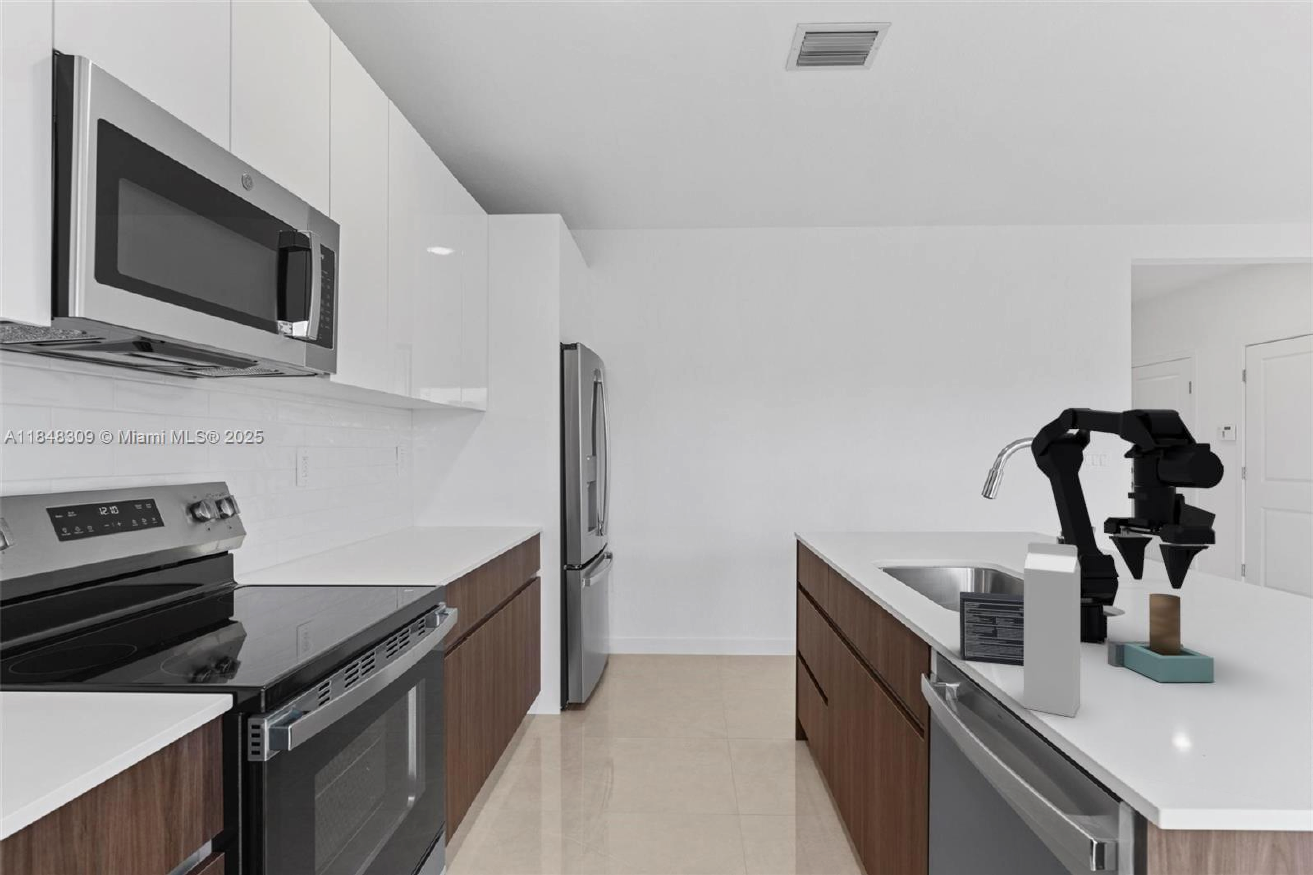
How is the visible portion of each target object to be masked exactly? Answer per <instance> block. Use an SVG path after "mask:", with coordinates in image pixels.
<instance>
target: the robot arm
mask: <svg viewBox="0 0 1313 875" xmlns="http://www.w3.org/2000/svg"><path fill="white" fill-rule="evenodd" d="M1070 430H1077V431H1076V433H1074V432H1070ZM1091 432H1098V433H1105V434H1114V435H1116V436H1118V437H1119V438H1120V439H1121V440H1123V441H1126V442H1128V443H1131V444H1133V445H1132V447H1131V448H1130V449H1129V450H1127V451H1126V452H1125V453H1124V454H1123V457H1124V458H1125V459H1132V460H1133V466H1132V467H1133V491H1132V492H1129V491H1128V492H1127V498H1128V499H1129V500H1130V499H1131V500H1133V507H1134V508H1133V510H1134V512H1133V513H1134V514H1133V515H1134V516H1129V517H1127V516H1126V517H1125V516H1123V517H1122V516H1119V517H1118V516H1115V517H1114V516H1109V517H1107V518H1106V519H1105V520H1104V522H1103V533H1104V534H1109V535H1108V539H1109V540H1111V541H1112V543H1113V544H1114V545H1115V548H1116V549H1117V551H1118V552H1119V554H1120V556H1121V558H1122V559H1123V561H1124V562H1125V565H1126V567H1127V568H1128V570H1129V572H1130V575H1131V576H1132V577H1133V579H1134V580H1135V581H1137V580H1138V581H1142V579H1143V576H1144V575H1143V574H1144V567H1145V553H1146V547H1147V546H1148V545H1149V544H1150V542H1151V541H1152V540H1153V536H1155V537H1159V538H1160V540H1161V542H1162V543H1159V544H1158V547H1159V551H1160V553H1161V557H1162V559H1163V560H1162V561H1163V564H1164V566H1165V570H1166V574H1167V578H1168V580H1169V583H1170V586H1171V588H1172V589H1173V590H1180V589H1182V587H1183V584H1184V581H1185V578H1186V577H1187V574H1188V571H1189V569H1190V566H1191V564H1192V562H1193V560H1194V558H1195V556H1196V555H1198V554H1199V553H1201V552H1202V551H1203V550H1208V548H1209V547H1210V545H1216V542H1217V541H1216V539H1217V538H1216V531H1215V529H1213V525H1214V523H1215V519H1216V516H1217V515H1216V513H1213V512H1210V511H1207V509H1206V510H1205V509H1203V508H1200V507H1197V506H1194V505H1190V504H1189V503H1186V497H1185V495H1184V493H1180V492H1178V493H1177V488H1183V489H1185V488H1186V489H1205V490H1207V489H1208V490H1209V489H1212V488H1214V487H1217V485H1219V484H1220V483H1221V481H1222V480H1223V477H1224V473H1225V466H1224V464H1223V462H1222V461H1221V459H1220V456H1218V455H1217V454H1216V453H1215V452H1213V451H1211V444H1210V442H1197V441H1196V439H1195V438H1194V437H1193V435H1192V433H1191V432H1190V431H1189V428H1188V427H1187V426H1186V424H1185V423H1184V421H1183V420H1182V419H1181V416H1180V412H1178V411H1177V410H1175V409H1170V408H1169V409H1164V408H1162V409H1160V408H1154V409H1153V408H1151V409H1150V408H1135V409H1130V410H1129V409H1128V410H1123V411H1111V410H1110V411H1109V410H1100V409H1091V408H1090V407H1068V408H1066V409H1064V410H1063V411H1061V413H1060V414H1059V416H1058V417H1056V418H1055V419H1054V420H1052V421H1050V422H1049V423H1048V424H1045V425H1044V426H1042V427H1041V429H1039V431H1038V433H1037V434H1036V435H1035V437H1034V438H1033V440H1032V441H1031V444H1030V450H1031V453H1032V456H1033V458H1034V462H1035V464H1036V466H1037V469H1039V470H1040V471H1041V473H1043V474H1044V475H1045V477H1047V479H1049V482H1050V485H1051V486H1050V487H1051V491H1052V494H1053V498H1054V499H1053V500H1054V504H1055V508H1056V511H1057V514H1058V518H1059V523H1060V527H1061V532H1062V536H1063V540H1064V545H1075V546H1076V547H1077V558H1078V561H1079V564H1080V642H1088V643H1089V642H1090V643H1098V644H1099V643H1100V644H1105V643H1106V639H1107V638H1108V615H1107V613H1106V612H1104V607H1113V606H1114V603H1115V600H1116V596H1117V593H1118V589H1119V584H1120V582H1119V579H1118V578H1120V575H1119V573H1118V571H1117V568H1116V564H1115V559H1114V557H1113V555H1112V554H1104V553H1103V552H1102V551H1101V549H1100V548H1099V547H1098V545H1097V542H1096V541H1097V540H1096V537H1095V534H1094V529H1093V526H1092V522H1091V518H1090V515H1089V511H1088V507H1087V502H1086V499H1085V496H1084V495H1085V494H1084V491H1083V487H1082V484H1081V479H1080V476H1079V475H1080V474H1079V473H1080V469H1081V468H1082V465H1083V463H1084V457H1085V456H1084V450H1085V449H1086V448H1087V446H1089V444H1090V443H1091ZM1147 535H1149V536H1147ZM1151 536H1152V537H1151Z"/></svg>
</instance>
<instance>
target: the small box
mask: <svg viewBox="0 0 1313 875" xmlns="http://www.w3.org/2000/svg"><path fill="white" fill-rule="evenodd" d="M959 653H960V659H961V660H962V661H968V662H970V661H971V662H982V663H995V664H1003V665H1016V666H1017V665H1018V666H1024V594H1012V593H1011V594H1010V593H1009V594H1008V593H995V592H994V593H992V592H975V591H959Z"/></svg>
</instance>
